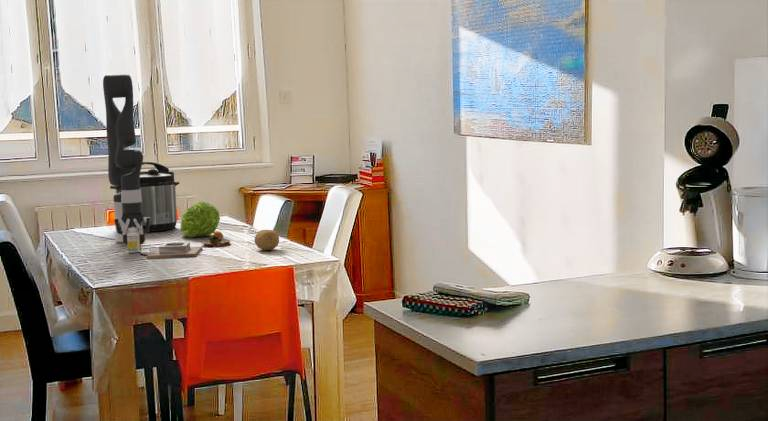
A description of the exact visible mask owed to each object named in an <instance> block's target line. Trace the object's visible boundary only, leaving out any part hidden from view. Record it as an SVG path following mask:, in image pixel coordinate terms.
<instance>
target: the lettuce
mask: <svg viewBox="0 0 768 421" xmlns="http://www.w3.org/2000/svg"><path fill="white" fill-rule="evenodd" d="M220 221H221V218H220V212H219V210H218V209H217V207H216V206H215V205H213V204H211V203H208V202H205V201H199V202H196V203H195V204H193V205H191V206H190V207H188V208H187V209H185V210H184V212H183V214H182V215H181V221H180V230H181V233H182V234H183V235H184V236H186V237H189V238H196V237H205V236H210V235H213V234H214V232H215V231H216V230H217V229H218V226H219V223H220Z"/></svg>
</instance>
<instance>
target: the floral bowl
mask: <svg viewBox="0 0 768 421" xmlns="http://www.w3.org/2000/svg"><path fill="white" fill-rule="evenodd" d="M201 244H202V245H203V246H205V248H211V246H212V247H213V248H220V247H222V246H223V247H227V246H231V240H229V239H225V238H224V234H223V233H222V232H221V231H219V230H217V231H216V230H215V232H214V233H213V234H211V236H210V237H209V238H208V240H203V241H201Z"/></svg>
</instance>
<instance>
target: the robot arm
mask: <svg viewBox="0 0 768 421" xmlns="http://www.w3.org/2000/svg"><path fill="white" fill-rule="evenodd" d="M133 86H134V85H133V80H132V77H131V75H130V74H128V73H120V74H119V73H118V74H116V73H115V74H106V75H104V76H103V79H102V87H103V88H102V89H103V96H104V104H105V106H104V107H105V119H106V120H105V121H106V125H105V127H106V128H105V129H106V142H107V149H108V150H107V153H108V155H107V156H108V157H107V158H108V159H107V160H108V164H107V166H108V167H107V169H108V170H107V172H108V177H107V178H108V182H109V183H110V186H114V185H121V189H122V192H120V193H118V194H116V193H115V194H114V195H113V212H114V220H113V221H114V225H115V227H114V228H115V242H116V243H123V244H124V245H126V246H127V233H129V231H128V227H137V228H138V230H139V231H138V232H140V234H141V235H140V242H141V245H144V243H145V242H146V236H145V235H146V234H147V233H149V232H150V231H149V229H150V222H151V218H150V217H144V216H143V214H142V199H141V191H140V172H142V166H143V165H142V163H143V162H144V155H143V153H142V151H141V150H140V149H125V148H129V147H132V146H134V145H135V144H136V142H137V140H136V132H135V123H134V121H135V120H134V88H133ZM120 98H124V99H125V100H124V105H123V108H122V110H121V111H120V110H119V108H118V107H117V105H116V103H115V101H114V99H120ZM143 219H144V221H145V223H146V227H145V230H144V229H143V227H142V225H141V222H142V221H143Z"/></svg>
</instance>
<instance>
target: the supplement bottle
mask: <svg viewBox="0 0 768 421" xmlns="http://www.w3.org/2000/svg"><path fill="white" fill-rule="evenodd" d="M128 231H129V233H127V245H126V247H127V250H126V251H127V253H130V254H131V253H139V252H142V244H141V242H140V235H141V234H140V232H139V230H138V228H137V227H128Z"/></svg>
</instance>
